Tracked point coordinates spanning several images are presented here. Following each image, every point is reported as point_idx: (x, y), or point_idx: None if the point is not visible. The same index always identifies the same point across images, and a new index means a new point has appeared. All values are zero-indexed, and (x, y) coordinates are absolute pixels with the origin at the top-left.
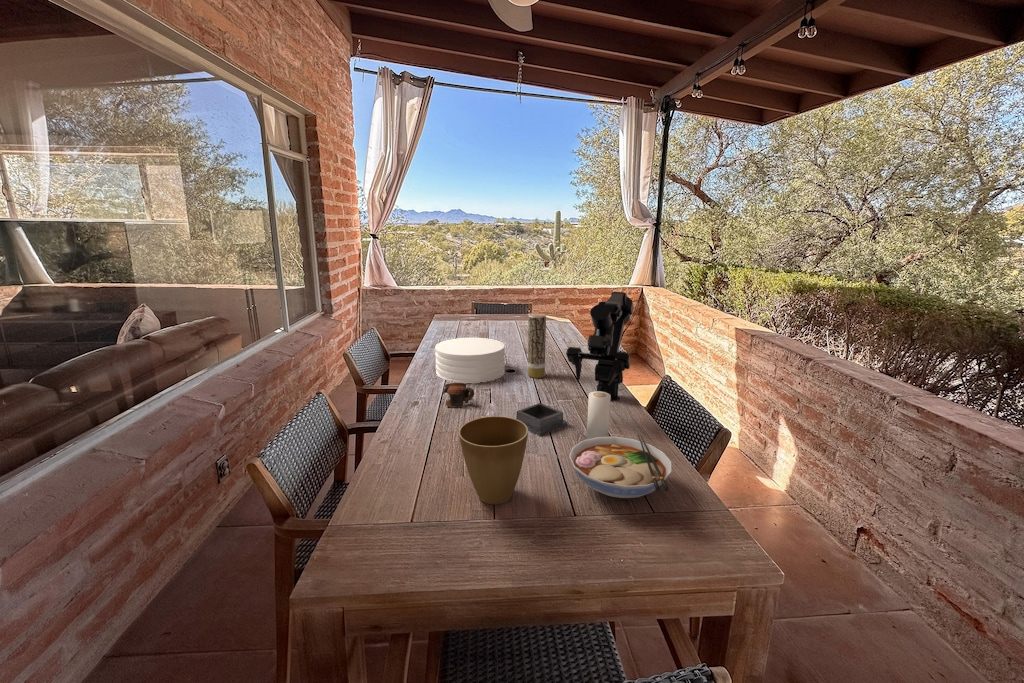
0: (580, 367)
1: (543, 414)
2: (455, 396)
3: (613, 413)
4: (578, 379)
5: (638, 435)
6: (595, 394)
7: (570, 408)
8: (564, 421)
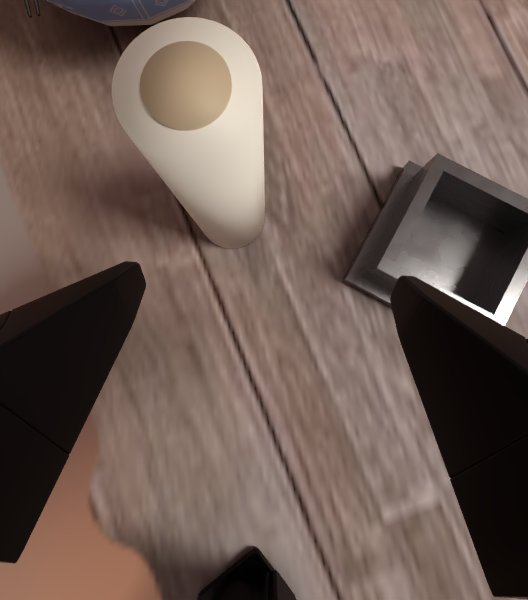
0: (481, 450)
1: None
2: None
3: (207, 434)
4: (400, 287)
5: (36, 4)
6: (213, 74)
7: (367, 428)
8: (356, 276)
